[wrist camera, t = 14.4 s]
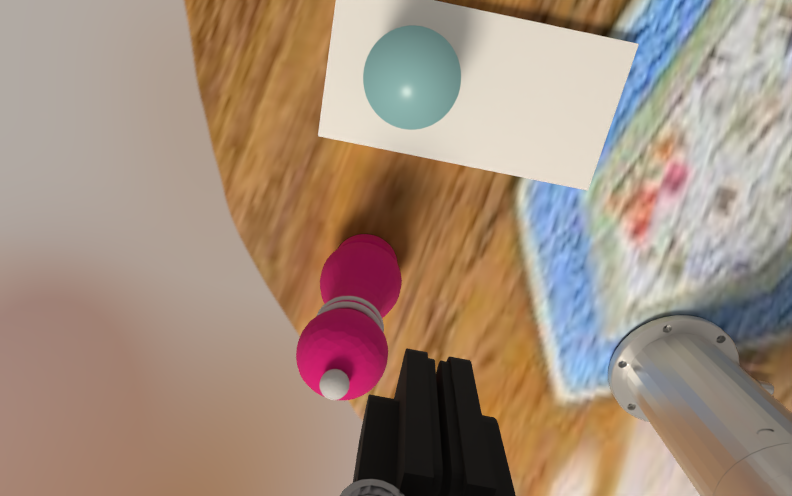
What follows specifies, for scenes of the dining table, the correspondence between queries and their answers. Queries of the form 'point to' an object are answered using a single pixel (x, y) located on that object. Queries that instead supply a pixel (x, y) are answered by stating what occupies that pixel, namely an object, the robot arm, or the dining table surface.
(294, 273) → the dining table surface
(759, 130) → the dining table surface
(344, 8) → the board
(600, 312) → the dining table surface
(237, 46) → the dining table surface
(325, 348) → the pepper mill
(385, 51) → the cap
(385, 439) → the robot arm
